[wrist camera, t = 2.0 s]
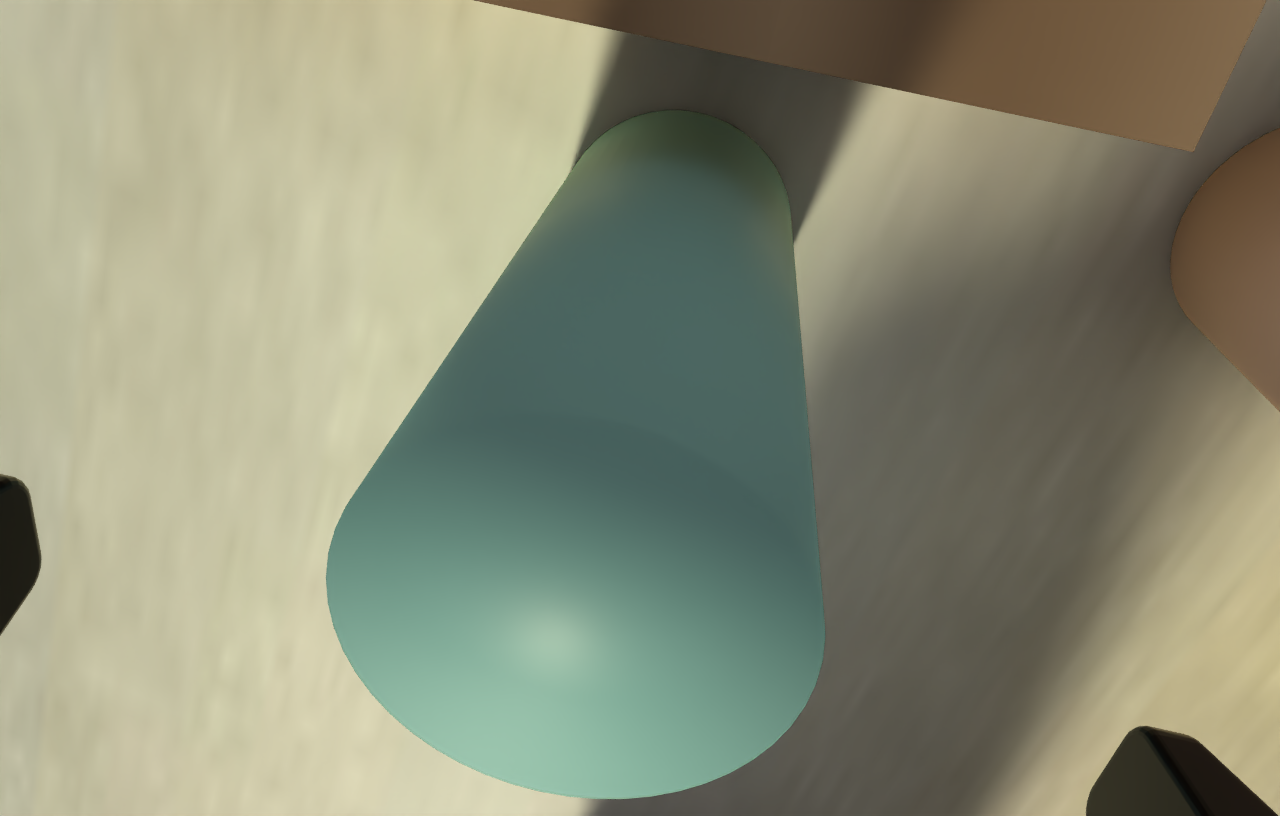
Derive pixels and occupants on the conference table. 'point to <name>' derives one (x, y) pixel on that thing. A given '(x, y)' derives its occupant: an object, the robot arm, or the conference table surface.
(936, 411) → the conference table surface
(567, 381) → the tall pin
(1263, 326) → the short pin
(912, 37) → the bore board
